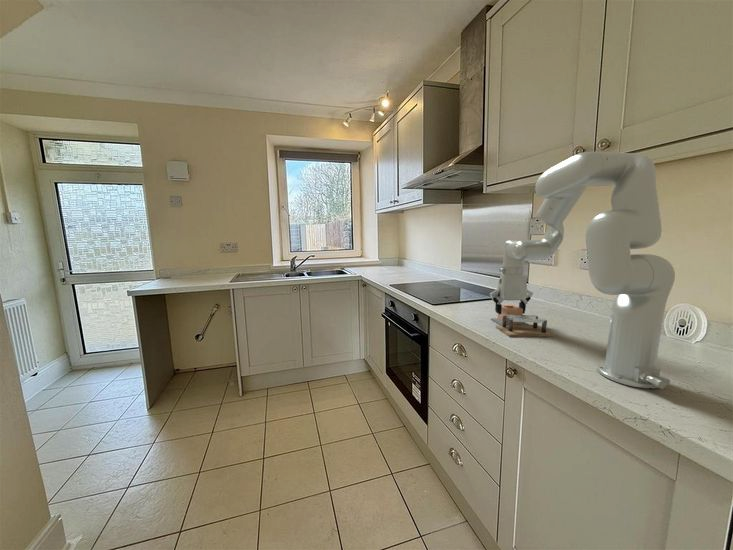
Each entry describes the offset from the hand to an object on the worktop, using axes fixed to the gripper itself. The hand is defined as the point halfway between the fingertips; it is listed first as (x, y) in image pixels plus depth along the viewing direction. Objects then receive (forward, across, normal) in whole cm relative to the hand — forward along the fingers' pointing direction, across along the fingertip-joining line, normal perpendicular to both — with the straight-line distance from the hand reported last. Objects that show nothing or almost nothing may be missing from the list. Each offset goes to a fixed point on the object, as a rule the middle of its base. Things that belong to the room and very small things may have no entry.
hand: (510, 312), depth 118 cm
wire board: (+4, 0, -10) cm, 11 cm away
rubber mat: (+4, 0, 0) cm, 4 cm away
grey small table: (+4, 0, -10) cm, 11 cm away
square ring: (+4, 0, 0) cm, 4 cm away
